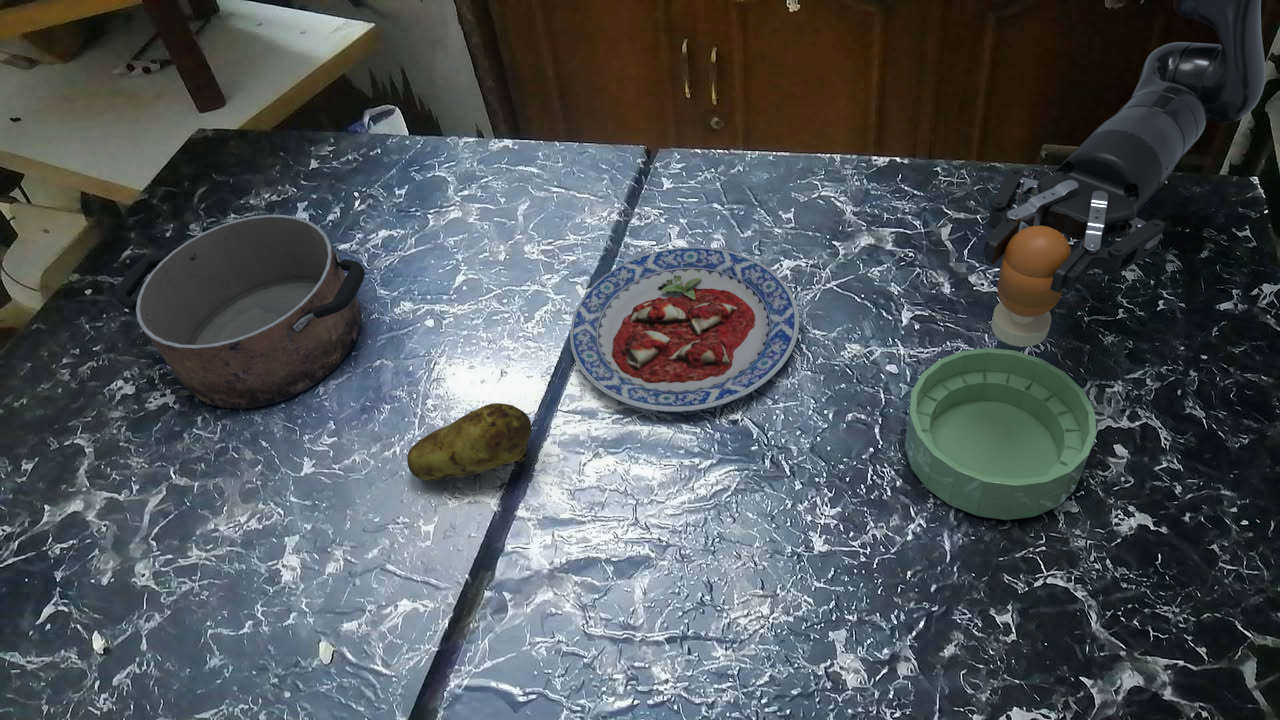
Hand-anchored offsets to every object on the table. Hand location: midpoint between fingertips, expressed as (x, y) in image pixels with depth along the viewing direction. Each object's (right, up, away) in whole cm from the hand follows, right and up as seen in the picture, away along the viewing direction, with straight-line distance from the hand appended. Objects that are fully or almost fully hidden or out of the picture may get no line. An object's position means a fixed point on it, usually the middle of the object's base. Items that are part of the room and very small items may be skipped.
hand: (1022, 268), depth 76 cm
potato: (-48, -19, +21) cm, 56 cm away
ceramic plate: (-26, -5, +30) cm, 40 cm away
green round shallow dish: (+3, -16, +15) cm, 22 cm away
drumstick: (+3, -5, +8) cm, 9 cm away
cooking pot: (-76, -5, +38) cm, 85 cm away
